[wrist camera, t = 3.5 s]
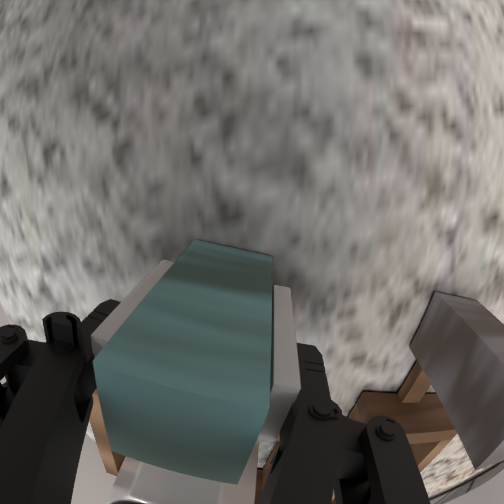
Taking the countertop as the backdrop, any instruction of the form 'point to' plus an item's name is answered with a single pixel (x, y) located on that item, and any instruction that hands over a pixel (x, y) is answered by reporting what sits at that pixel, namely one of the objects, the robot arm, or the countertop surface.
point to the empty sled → (449, 384)
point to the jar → (180, 485)
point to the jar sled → (191, 369)
